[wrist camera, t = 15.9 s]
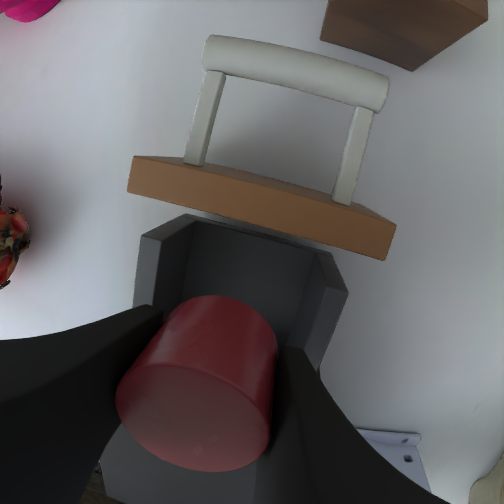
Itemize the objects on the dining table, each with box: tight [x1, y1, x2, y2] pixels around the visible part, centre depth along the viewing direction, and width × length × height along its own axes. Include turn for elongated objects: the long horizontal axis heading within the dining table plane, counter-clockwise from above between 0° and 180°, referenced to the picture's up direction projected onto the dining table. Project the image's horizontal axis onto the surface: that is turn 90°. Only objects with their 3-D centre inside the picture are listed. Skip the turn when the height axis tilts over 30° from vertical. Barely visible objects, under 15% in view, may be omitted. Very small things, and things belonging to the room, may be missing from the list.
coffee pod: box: [115, 295, 278, 472], centre depth 8 cm, size 4×4×4 cm
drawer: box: [127, 35, 396, 372], centre depth 12 cm, size 15×8×5 cm, turn 166°
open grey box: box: [100, 367, 320, 504], centre depth 15 cm, size 12×10×7 cm
